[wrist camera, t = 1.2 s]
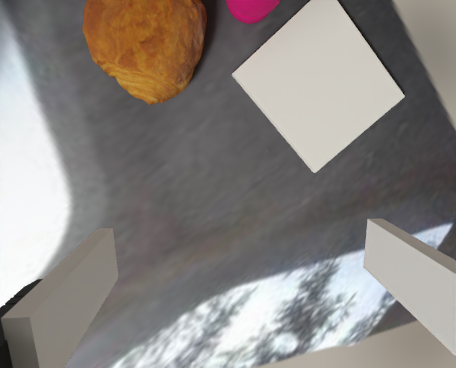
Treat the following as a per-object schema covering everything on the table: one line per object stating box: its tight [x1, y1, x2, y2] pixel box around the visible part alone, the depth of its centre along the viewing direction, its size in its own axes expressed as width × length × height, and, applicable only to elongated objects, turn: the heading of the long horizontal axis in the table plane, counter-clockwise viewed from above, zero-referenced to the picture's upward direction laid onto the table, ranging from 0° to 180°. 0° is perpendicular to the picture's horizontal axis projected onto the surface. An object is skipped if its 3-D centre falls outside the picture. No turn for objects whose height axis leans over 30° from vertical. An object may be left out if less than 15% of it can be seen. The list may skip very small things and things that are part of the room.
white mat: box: [232, 0, 405, 173], centre depth 39 cm, size 18×16×1 cm
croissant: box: [82, 0, 207, 105], centre depth 34 cm, size 14×16×8 cm
